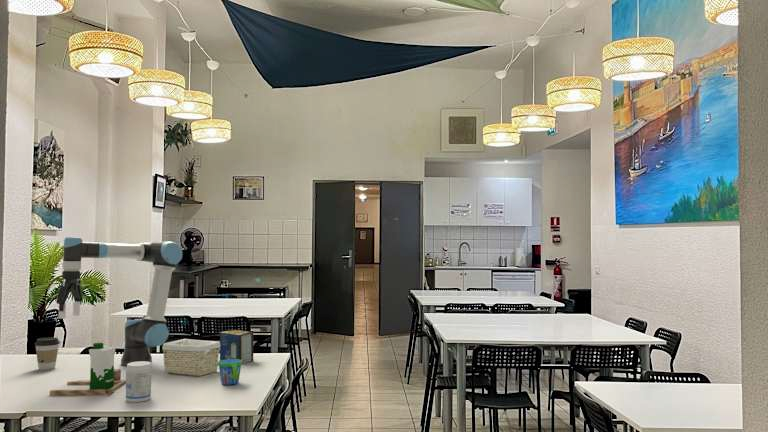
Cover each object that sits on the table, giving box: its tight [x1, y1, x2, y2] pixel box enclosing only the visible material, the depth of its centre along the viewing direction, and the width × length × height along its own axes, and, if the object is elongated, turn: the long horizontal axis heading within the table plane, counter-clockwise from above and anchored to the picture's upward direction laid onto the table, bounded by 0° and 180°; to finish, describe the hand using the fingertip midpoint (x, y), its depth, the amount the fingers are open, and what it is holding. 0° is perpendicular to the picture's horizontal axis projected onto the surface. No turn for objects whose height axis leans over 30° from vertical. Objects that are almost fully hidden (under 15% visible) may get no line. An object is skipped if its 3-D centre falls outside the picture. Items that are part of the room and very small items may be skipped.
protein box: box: [219, 329, 254, 364], centre depth 327 cm, size 10×15×16 cm
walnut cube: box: [114, 368, 122, 381], centre depth 277 cm, size 5×5×5 cm
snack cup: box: [218, 359, 243, 386], centre depth 276 cm, size 16×10×10 cm
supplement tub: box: [125, 361, 153, 403], centre depth 249 cm, size 10×10×15 cm
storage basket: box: [162, 338, 220, 377], centre depth 300 cm, size 24×16×15 cm
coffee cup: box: [34, 337, 61, 371], centre depth 308 cm, size 11×11×15 cm
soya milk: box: [88, 342, 117, 390], centre depth 265 cm, size 9×9×20 cm
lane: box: [49, 380, 126, 397], centre depth 264 cm, size 25×17×2 cm
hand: (69, 317), depth 280 cm, fingers open, 13 cm apart
